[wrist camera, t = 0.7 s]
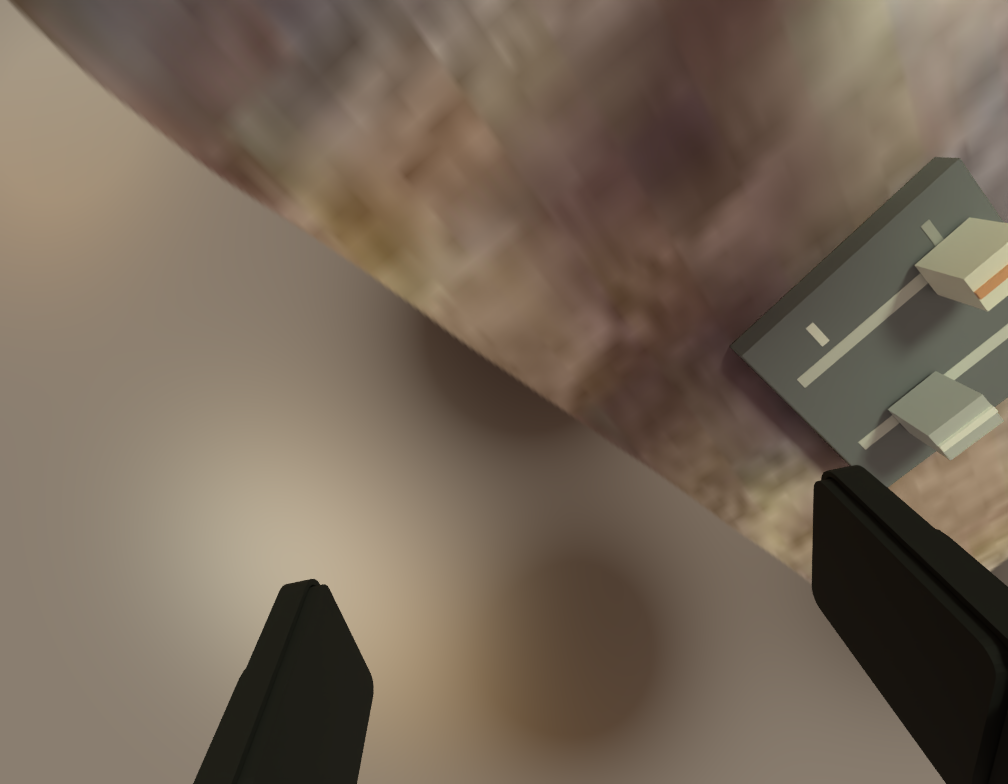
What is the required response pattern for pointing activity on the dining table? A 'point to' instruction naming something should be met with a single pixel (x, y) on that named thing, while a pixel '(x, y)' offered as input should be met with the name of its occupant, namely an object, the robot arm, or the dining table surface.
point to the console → (882, 327)
